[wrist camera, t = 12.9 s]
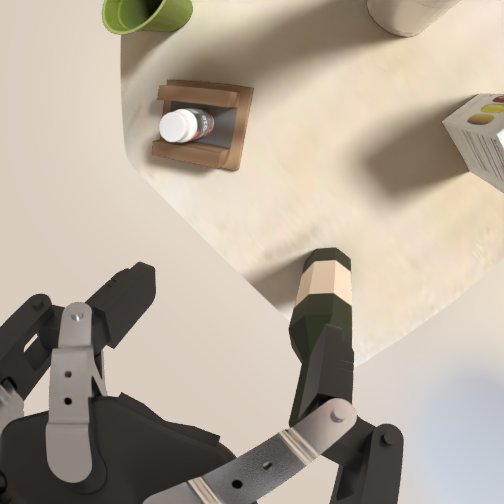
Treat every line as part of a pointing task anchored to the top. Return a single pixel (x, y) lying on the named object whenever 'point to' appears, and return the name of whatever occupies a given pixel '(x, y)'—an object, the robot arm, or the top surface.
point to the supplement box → (481, 136)
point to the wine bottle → (320, 309)
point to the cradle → (224, 115)
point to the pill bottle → (186, 125)
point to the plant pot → (145, 15)
